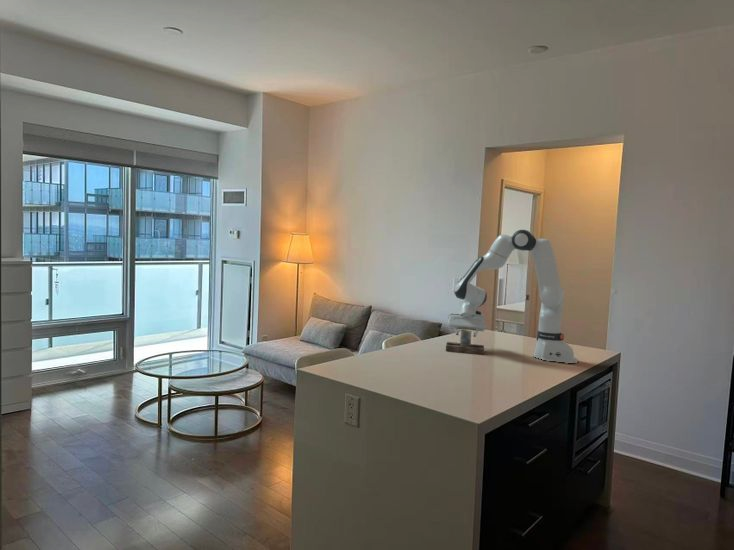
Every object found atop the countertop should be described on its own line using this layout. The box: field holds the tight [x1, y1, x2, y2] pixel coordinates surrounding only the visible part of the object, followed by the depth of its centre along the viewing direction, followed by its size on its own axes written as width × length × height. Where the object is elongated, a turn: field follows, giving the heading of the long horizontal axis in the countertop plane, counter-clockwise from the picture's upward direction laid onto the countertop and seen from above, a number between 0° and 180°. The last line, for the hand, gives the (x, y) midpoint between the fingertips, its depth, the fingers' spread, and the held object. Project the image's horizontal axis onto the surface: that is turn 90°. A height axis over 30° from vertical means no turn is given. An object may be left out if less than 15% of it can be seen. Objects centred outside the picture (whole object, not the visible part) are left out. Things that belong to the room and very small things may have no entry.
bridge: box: [445, 341, 485, 355], centre depth 290 cm, size 20×10×3 cm, turn 79°
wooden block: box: [459, 329, 473, 347], centre depth 290 cm, size 6×2×10 cm, turn 79°
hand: (465, 335), depth 290 cm, fingers open, 8 cm apart
